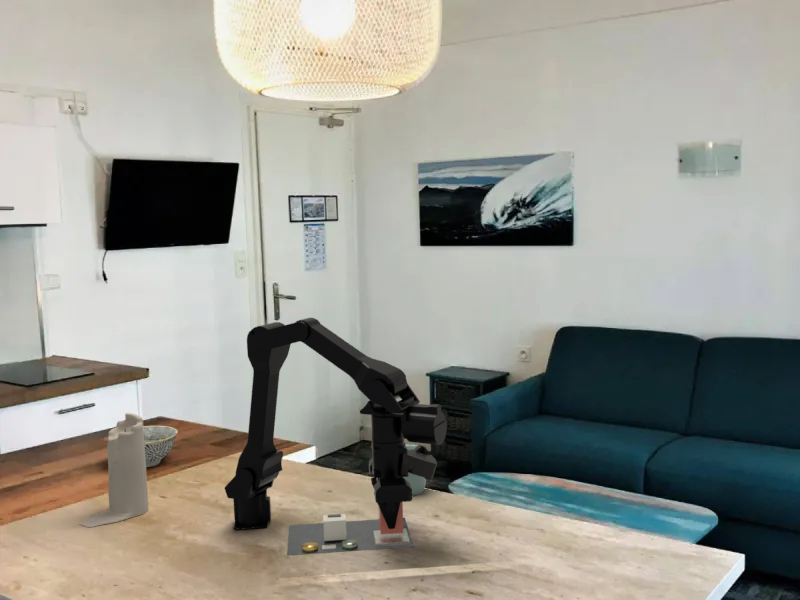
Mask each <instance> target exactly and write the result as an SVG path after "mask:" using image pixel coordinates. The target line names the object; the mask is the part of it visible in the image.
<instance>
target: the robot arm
mask: <svg viewBox="0 0 800 600" xmlns="http://www.w3.org/2000/svg"><path fill="white" fill-rule="evenodd" d="M299 342H301V343H303V345H305V346H308V348H310V349H311V350H312V351H314V352H316V353H317V354H318V355H320V356H321V357H323V358H324V359H325V360H327V361H328V362H330V363H331V364H332V365H333V366H335V367H336V368H338V369H340V370H341V371H342V372H343V373H345V374H346V375H348V376H349V377H350V378H351V379H352V380H353V381H354V383H355V385H356V387H357V389H358V390H359V391H360V392H361V393H362V394H363V395H364V397H366V399H368V400H367V402H366V404H365V405H364V407H362V408H361V409H360V410H359V414H360V415H367V416H371V418H370V419H371V442H370V443H371V450H372V451H371V452H372V454H371V455H372V457H371V458H370V459H368V472H369V475H373V477H371V478H370V480H371V485H372V487H373V490H374V492H373V496H374V500H375V503H377V505H378V509H379V508H380V510H381V512H382V515H383V517H384V519H385V521H386V524H387V526H388V528H389V529H394V528H395V525H396V520H397V516H398V511H399V507H400V503H401V502H403V503H405V502H406V503H407V502H412V501H413V495H412V488H411V485H410V483H409V482H408V481H407V480H406V479H404V478H403V477H408V472H409V473H411V474H414V475H418V476H421V477H424V478H425V479H426V481H427V480H428V481H432V480H433V479H434V475H435V471H436V470H437V469H436V468H437V466H438V462H437V460H436V458H435V457H434V456H433V455H432V454H429V453H428V448H427V446H426V445H436V446H437V445H439V446H440V445H442V444H443V443H444V441H445V439H446V435H447V430H448V429H447V428H448V427H447V426H448V424H447V423H448V421H447V420H446V416H445V414H444V412H443V411H442V404H437V403H436V404H434V403H433V404H421V403H420V402H421V401H420V400H419V398H418V397H417V395H416V394H415V391H413V389H412V388H411V387H410V384H409V383H408V380H407V376H406V373H405V372H404V371H403V370H402V369H401V368H399V367H396V366H395V365H393V364H390V363H388V362H386V361H383V360H380V359H379V360H378V359H376V358H372V357H370V356H367V355H366V354H365V353H363V352H362V351H360V350H359V349H358V348H356V347H355V346H354V345H352V344H350V343H349V342H347V341H346V340H344V339H343V338H341V337H340V336H339V335H338V334H336V333H334V332H333V331H332V330H330V329H329V328H327V327H326V326H324V325H323V324H321V322H320V321H319V320H318V319H317V318H315V317H307V318H301V319H299V320H296V321H295V322H293V323H292V322H291V323H288V324H285V323H282V322H281V321H279V322H278V321H275V322H270V323H266V324H265V323H264V324H262V325H257V326H255V327H253V328H252V329H250V331H248V332H247V336H246V348H247V349H246V350H247V358H248V360H249V362H250V365H251V368H252V369H253V371H252V372H253V373H252V374H253V376H252V385H251V398H250V407H249V408H250V409H249V418H248V431H247V432H248V433H247V440H246V441H247V442H246V444H245V446H244V448H243V450H242V451H241V454H240V455H239V458H238V462H237V465H236V469H235V475H234V476H233V478H232V479H230V481H229V482H228V483H227V484H226V485H225V486H224V491H225V494H226V497H227V498H228V499H233V500H232V501H233V513H234V514H233V518H234V519H233V520H234V521H233V522H234V524H233V527H232V528H233V530H249V529H263V528H267V527H269V522H270V521H271V520H272V519H271V518H272V510H271V509H272V507H271V496H268V489H270V488H272V487H273V484H274V481H275V480H276V479H277V478H278V477H279V475H280V472H281V471H283V466H282V463H283V456H284V451H282V450H278V449H277V448H276V445H275V444H274V435H275V434H274V433H275V425H276V424H275V423H276V414H277V413H276V412H277V402H278V391H279V381H280V373H281V369H282V367H283V365H284V364H285V361H286V359H287V358H288V356H289V351H290V347H291V345H292V344H295V343H299ZM398 398H400V399H401V400H399V401H398V400H397V399H398ZM405 440H407V442H409V443H415V444H417V443H418V446H417V447H416V448H415V449H414V450H413V449H411V450H408V449H407V447H405V445H406V443H405ZM422 444H426V445H422Z"/></svg>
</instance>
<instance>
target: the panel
mask: <svg viewBox="0 0 800 600" xmlns="http://www.w3.org/2000/svg"><path fill="white" fill-rule="evenodd" d="M346 536H347V540H332V541H324V523H323V522H321V523H320V522H319V523H304V524H303V523H302V524H289V526H288V538H287V547H286V548H287V549H286V556H289V557H290V556H300V555H301V556H303V555H313V554H314V555H315V554H317V555H318V554H329V553H342V552H343V553H346V552H359V551H360V552H361V551H372V550H375V551H376V550H384V549H385V550H387V549H401V548H403V549H404V548H413V547H414V545H413V541H412V537H411V534H410V531H409V527H408V524H407V521H406V518H405V517H403V533H396V534H381V532H380V527H379V518H378V519H367V520H363V519H362V520H349V521H347V520H346Z"/></svg>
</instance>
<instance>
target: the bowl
mask: <svg viewBox="0 0 800 600" xmlns="http://www.w3.org/2000/svg"><path fill="white" fill-rule="evenodd" d="M143 429H144V446H145V458H146V468H149V467H151V468H152V467H154V466H157V465H159V464H160V463H161V460H162V459H164V458H165V457H166V456H168V455H169V453H170V452H171V451H172V449H173V446H174V444H175V443H174V442H175V439H176V437H177V435H178V429H176V428H175V427H172V426H166V425H143Z"/></svg>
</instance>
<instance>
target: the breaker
mask: <svg viewBox="0 0 800 600" xmlns="http://www.w3.org/2000/svg"><path fill="white" fill-rule="evenodd" d="M346 518H347V517H346V514H345V513H343V514H342V513H335V514H327V515H325V514H324V515H323V519H322V520H323V522H322V523H324V541H332V540H347V536H346V521H347V519H346Z"/></svg>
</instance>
